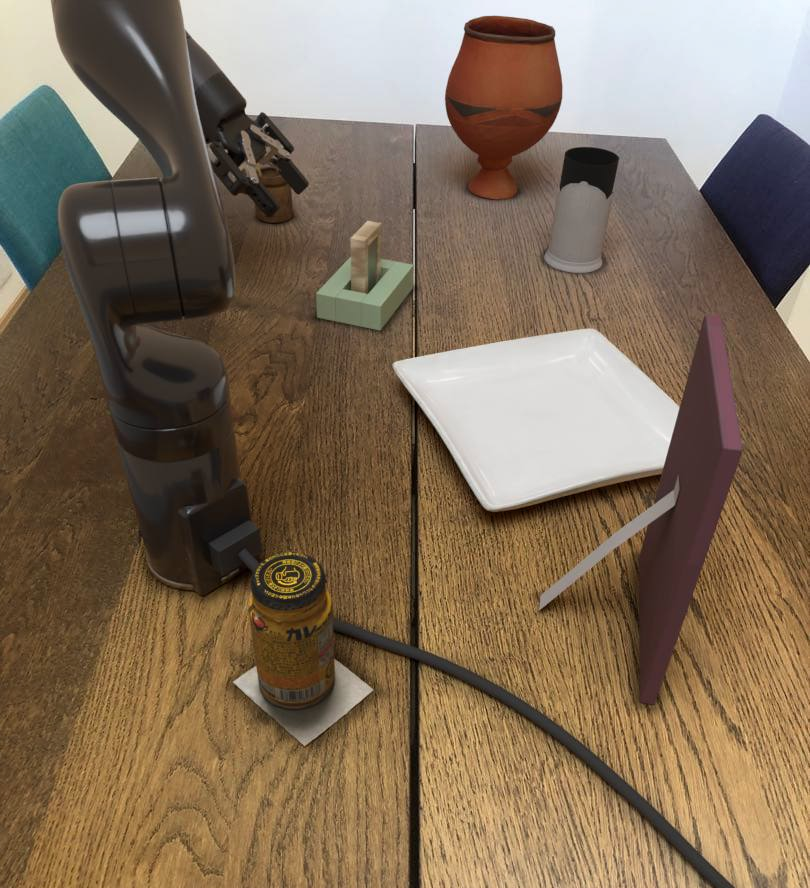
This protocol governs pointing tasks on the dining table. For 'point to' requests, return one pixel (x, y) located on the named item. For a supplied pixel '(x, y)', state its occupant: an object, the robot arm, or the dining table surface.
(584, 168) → the glass holder
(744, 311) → the dining table surface
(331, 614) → the condiment
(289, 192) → the utensil holder
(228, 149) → the robot arm
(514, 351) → the square plate
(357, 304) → the holder
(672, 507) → the picture frame
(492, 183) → the goblet
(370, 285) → the frame
